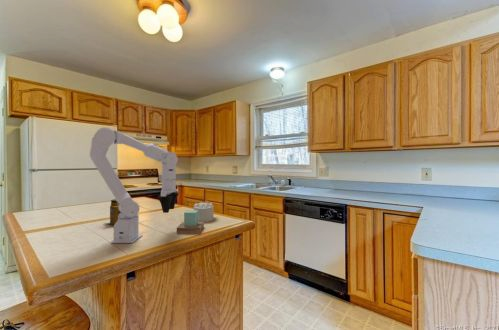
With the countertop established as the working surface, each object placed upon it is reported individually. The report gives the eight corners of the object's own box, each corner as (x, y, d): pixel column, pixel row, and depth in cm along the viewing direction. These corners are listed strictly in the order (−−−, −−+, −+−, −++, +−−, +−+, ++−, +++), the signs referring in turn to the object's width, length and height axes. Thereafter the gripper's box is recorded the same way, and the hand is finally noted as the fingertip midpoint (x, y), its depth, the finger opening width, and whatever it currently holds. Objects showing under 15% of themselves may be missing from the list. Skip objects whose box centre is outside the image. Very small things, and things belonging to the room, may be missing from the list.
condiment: (126, 224, 116) (126, 199, 116) (107, 227, 111) (107, 201, 110) (122, 221, 122) (122, 198, 122) (103, 224, 116) (103, 199, 116)
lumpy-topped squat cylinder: (213, 216, 135) (213, 201, 135) (213, 222, 122) (213, 205, 122) (194, 217, 133) (194, 201, 133) (192, 222, 120) (192, 205, 120)
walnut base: (200, 234, 102) (200, 227, 102) (176, 234, 102) (176, 227, 102) (203, 228, 112) (203, 222, 112) (182, 228, 112) (182, 222, 112)
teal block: (195, 226, 105) (195, 212, 104) (184, 226, 105) (184, 212, 105) (198, 223, 110) (198, 210, 109) (187, 223, 110) (187, 210, 110)
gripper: (173, 181, 96) (173, 214, 97) (182, 178, 111) (182, 207, 111) (155, 180, 96) (155, 214, 96) (167, 178, 111) (166, 207, 111)
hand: (168, 210), depth 104 cm, fingers open, 7 cm apart
